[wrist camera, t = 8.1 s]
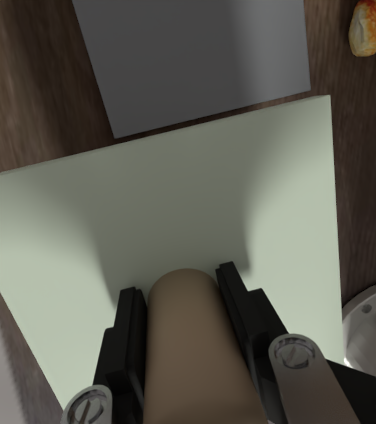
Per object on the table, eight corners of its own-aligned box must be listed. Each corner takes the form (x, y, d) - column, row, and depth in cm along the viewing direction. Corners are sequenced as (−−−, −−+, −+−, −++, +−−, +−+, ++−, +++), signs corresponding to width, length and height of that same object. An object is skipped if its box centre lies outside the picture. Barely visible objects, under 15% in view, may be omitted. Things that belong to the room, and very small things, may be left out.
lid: (315, 95, 11) (518, 82, 5) (333, 359, 15) (450, 525, 9) (-37, 181, 11) (-295, 283, 4) (87, 425, 15) (41, 640, 9)
